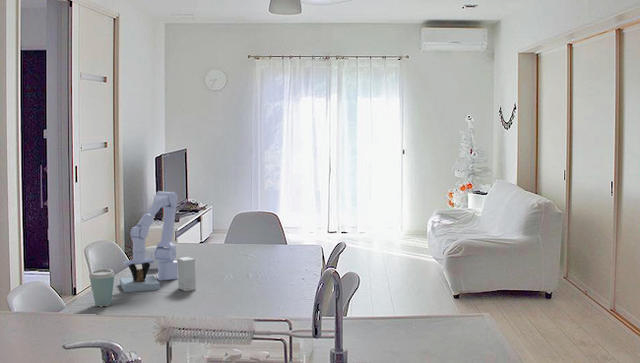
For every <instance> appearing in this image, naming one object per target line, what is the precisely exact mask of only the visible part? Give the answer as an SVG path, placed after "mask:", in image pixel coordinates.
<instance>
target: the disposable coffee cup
mask: <svg viewBox="0 0 640 363" xmlns="http://www.w3.org/2000/svg"><path fill="white" fill-rule="evenodd" d="M115 276H116V275H115V272H114V270H113V269H111V268H98V269H95V270H94V269H93V271H90V274H89V280H90V284H91V285H90V286H91V290H92V295H93V300H94V305H95V307H97V306H100V307H99V308H104V307H103V306H106V307H109V306H111V305H112V299H113V290H114V280H115Z"/></svg>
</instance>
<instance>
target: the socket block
mask: <svg viewBox="0 0 640 363" xmlns="http://www.w3.org/2000/svg"><path fill="white" fill-rule="evenodd" d="M119 285H120V287H121V289H122V290H123V292H124V293H131V292H144V291H154V290H155V291H156V290H160V282H159V280H158V279H157V277H155V276H154V275H149V276H148V275H146V279H144V282H135V280H133V276H132V277H123V278H122V277H120V278H119Z"/></svg>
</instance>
